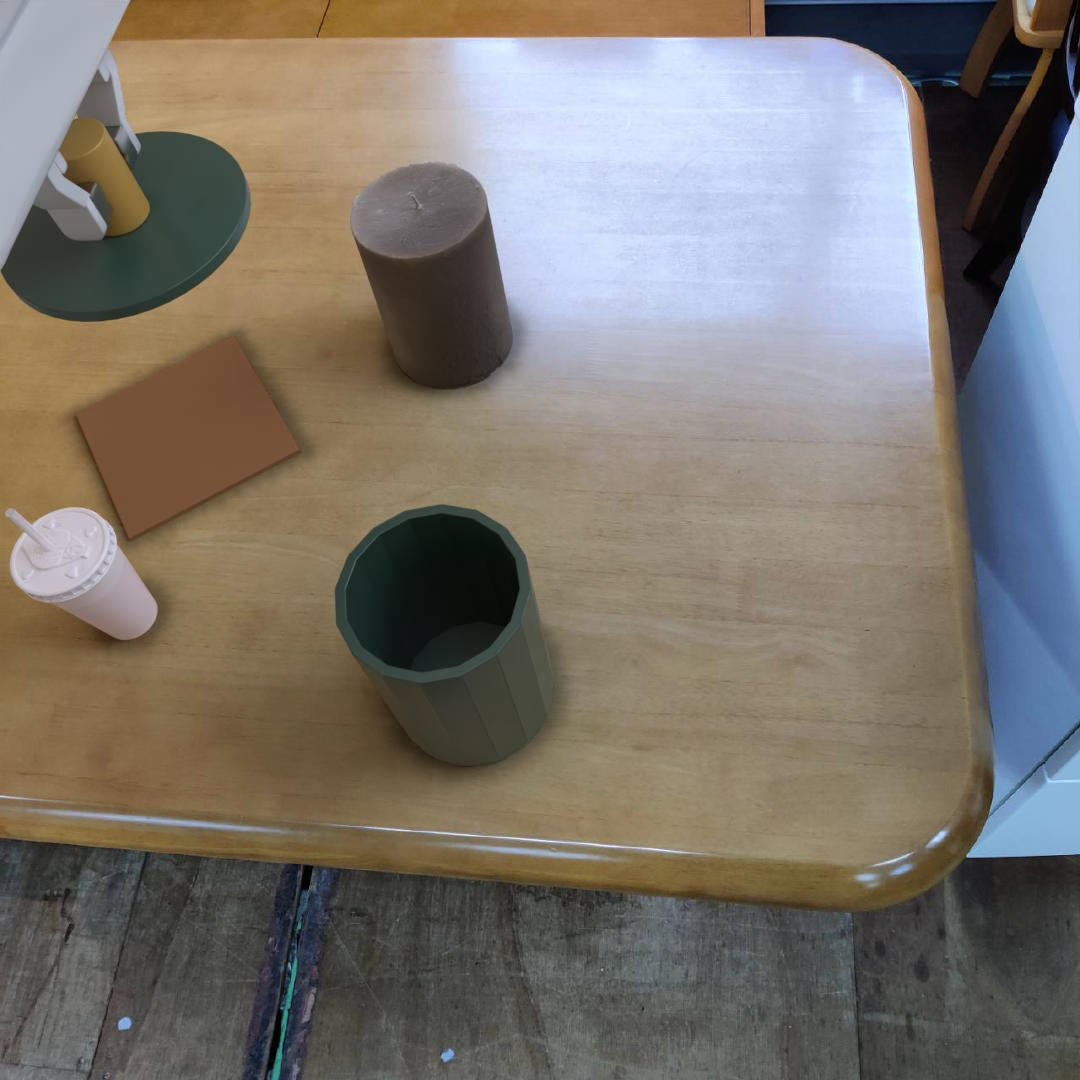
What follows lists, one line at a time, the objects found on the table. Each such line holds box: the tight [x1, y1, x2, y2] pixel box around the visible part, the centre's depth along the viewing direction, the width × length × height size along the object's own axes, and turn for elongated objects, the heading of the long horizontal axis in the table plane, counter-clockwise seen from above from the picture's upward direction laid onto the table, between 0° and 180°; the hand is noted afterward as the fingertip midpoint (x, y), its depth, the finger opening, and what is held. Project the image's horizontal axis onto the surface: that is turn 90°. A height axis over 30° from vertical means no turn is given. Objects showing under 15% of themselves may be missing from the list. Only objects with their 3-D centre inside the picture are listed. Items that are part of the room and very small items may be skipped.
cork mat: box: [75, 335, 302, 542], centre depth 75 cm, size 14×14×1 cm
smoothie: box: [5, 506, 158, 641], centre depth 61 cm, size 6×6×14 cm
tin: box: [334, 503, 555, 767], centre depth 55 cm, size 10×10×14 cm
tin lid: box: [0, 117, 252, 323], centre depth 41 cm, size 11×11×5 cm
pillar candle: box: [349, 161, 514, 390], centre depth 70 cm, size 10×10×15 cm
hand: (107, 195), depth 41 cm, fingers closed on tin lid, 2 cm apart
